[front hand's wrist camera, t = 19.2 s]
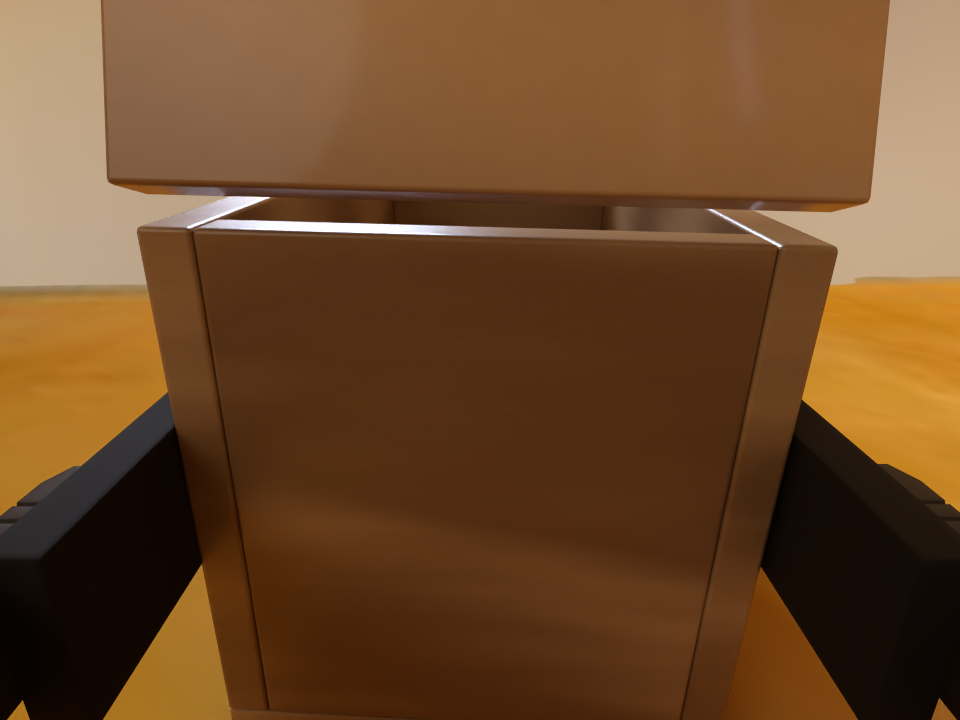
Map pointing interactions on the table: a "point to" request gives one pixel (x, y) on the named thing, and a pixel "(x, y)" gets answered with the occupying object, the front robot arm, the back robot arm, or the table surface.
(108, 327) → the table surface
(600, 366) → the chest
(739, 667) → the table surface
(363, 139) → the lid
